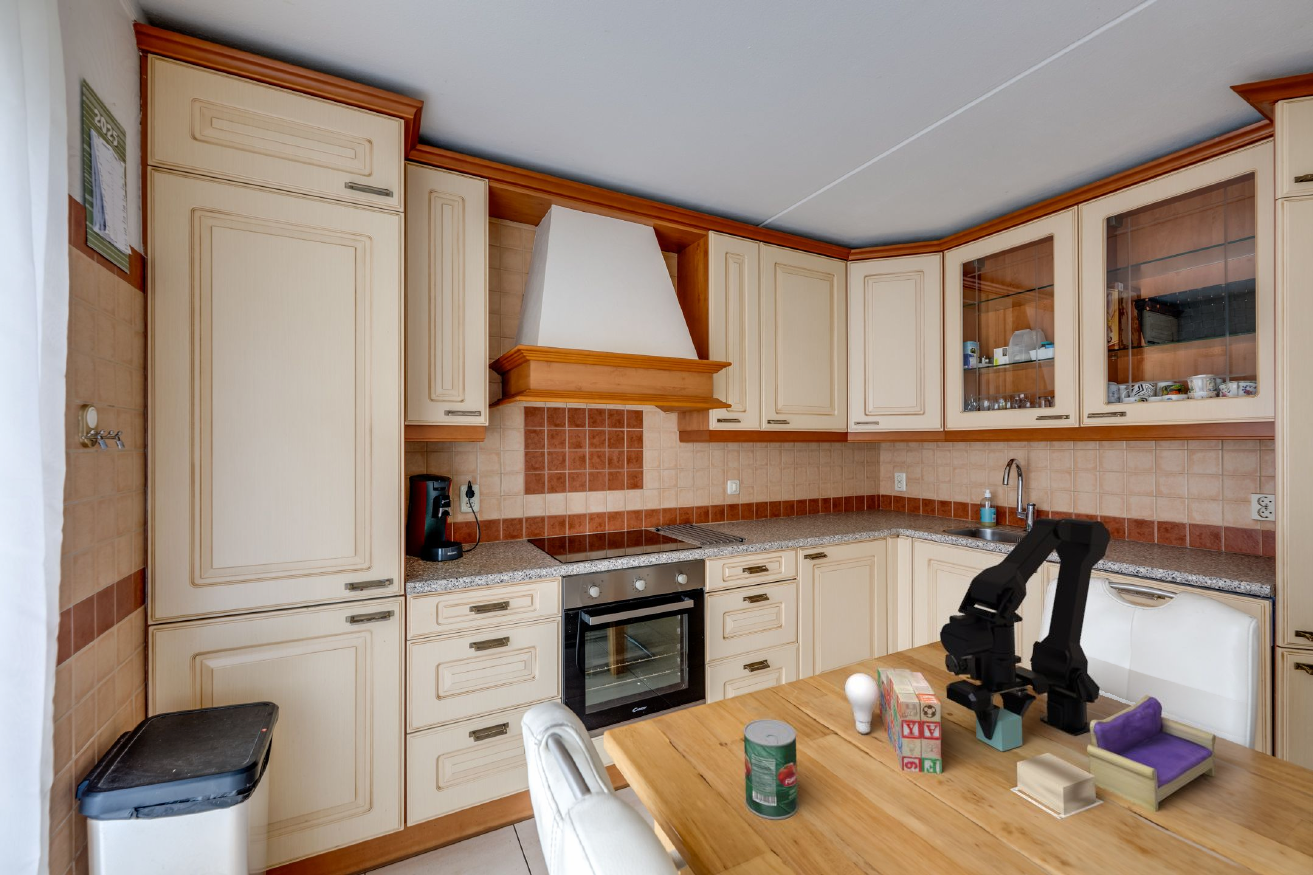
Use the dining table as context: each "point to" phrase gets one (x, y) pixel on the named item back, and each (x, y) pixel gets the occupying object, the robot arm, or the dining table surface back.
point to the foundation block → (1056, 783)
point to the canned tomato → (770, 769)
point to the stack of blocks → (911, 719)
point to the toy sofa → (1147, 753)
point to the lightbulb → (862, 699)
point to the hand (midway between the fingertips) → (999, 735)
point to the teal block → (1004, 731)
